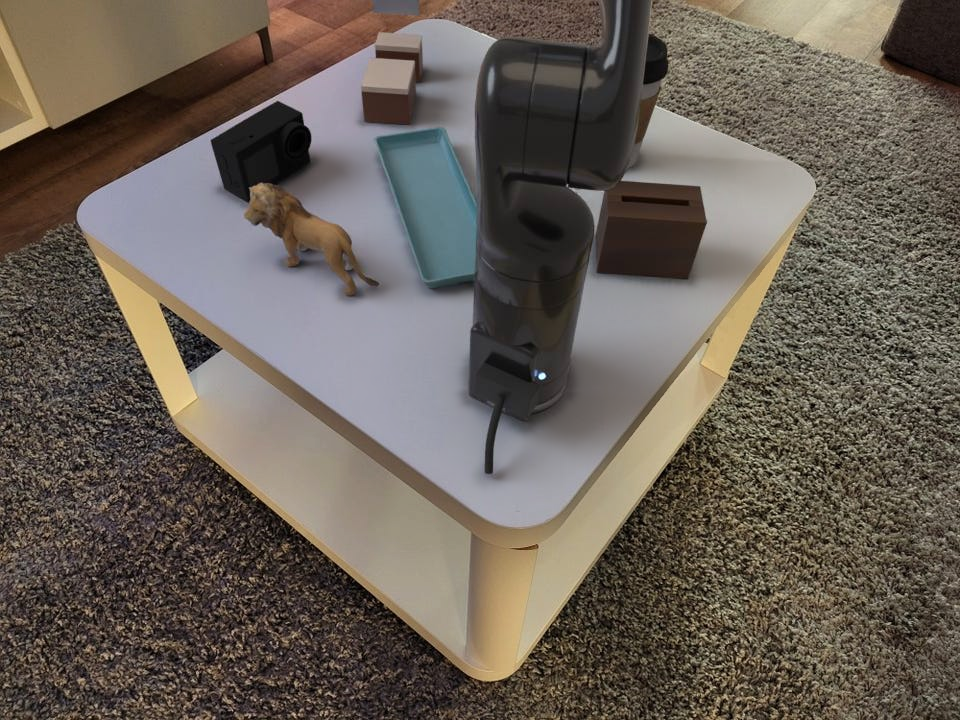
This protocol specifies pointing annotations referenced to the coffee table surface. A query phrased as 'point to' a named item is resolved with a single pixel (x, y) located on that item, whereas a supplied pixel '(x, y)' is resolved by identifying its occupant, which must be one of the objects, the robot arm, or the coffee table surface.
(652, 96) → the coffee cup
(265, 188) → the lion figurine
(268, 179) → the digital camera
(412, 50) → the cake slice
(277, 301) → the coffee table surface
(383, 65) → the brown lidded box
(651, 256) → the knife block
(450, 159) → the teal serving tray
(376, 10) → the knife
